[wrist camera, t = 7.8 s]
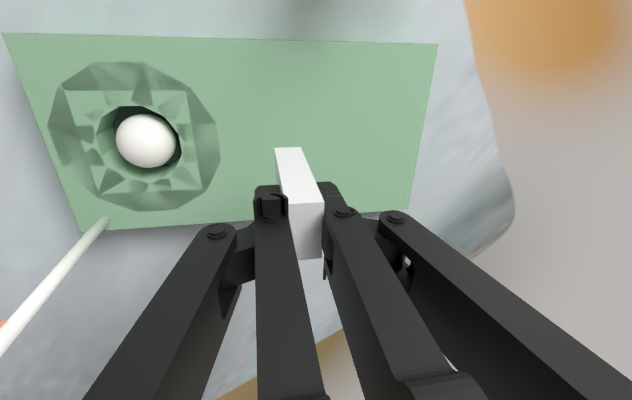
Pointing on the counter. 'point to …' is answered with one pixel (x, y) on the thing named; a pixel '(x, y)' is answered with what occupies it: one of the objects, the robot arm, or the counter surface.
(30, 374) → the counter surface
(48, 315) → the counter surface
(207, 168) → the green
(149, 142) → the ball
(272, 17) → the counter surface
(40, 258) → the counter surface
